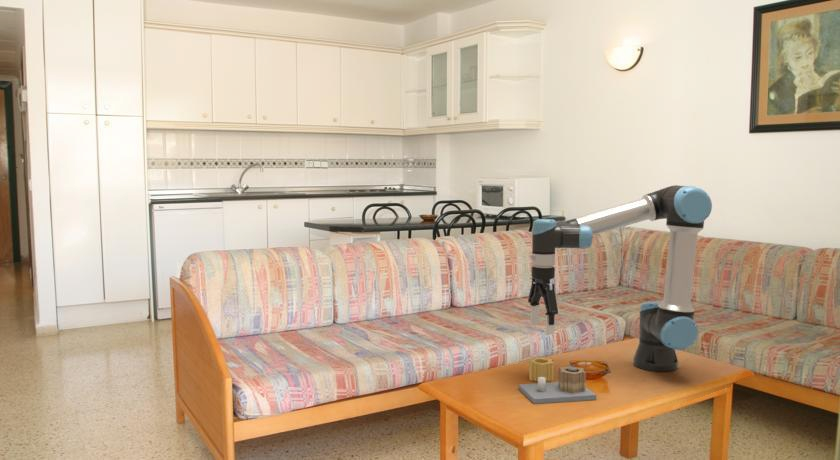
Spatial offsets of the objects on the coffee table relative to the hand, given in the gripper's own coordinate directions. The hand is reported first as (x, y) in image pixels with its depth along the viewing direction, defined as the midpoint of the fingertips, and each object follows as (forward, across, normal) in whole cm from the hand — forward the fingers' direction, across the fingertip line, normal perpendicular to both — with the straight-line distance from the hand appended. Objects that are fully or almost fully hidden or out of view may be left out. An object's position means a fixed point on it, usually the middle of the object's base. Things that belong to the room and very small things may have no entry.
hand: (542, 329), depth 228 cm
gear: (+15, +16, +4) cm, 22 cm away
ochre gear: (+17, 0, 0) cm, 17 cm away
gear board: (+17, +16, -1) cm, 23 cm away
